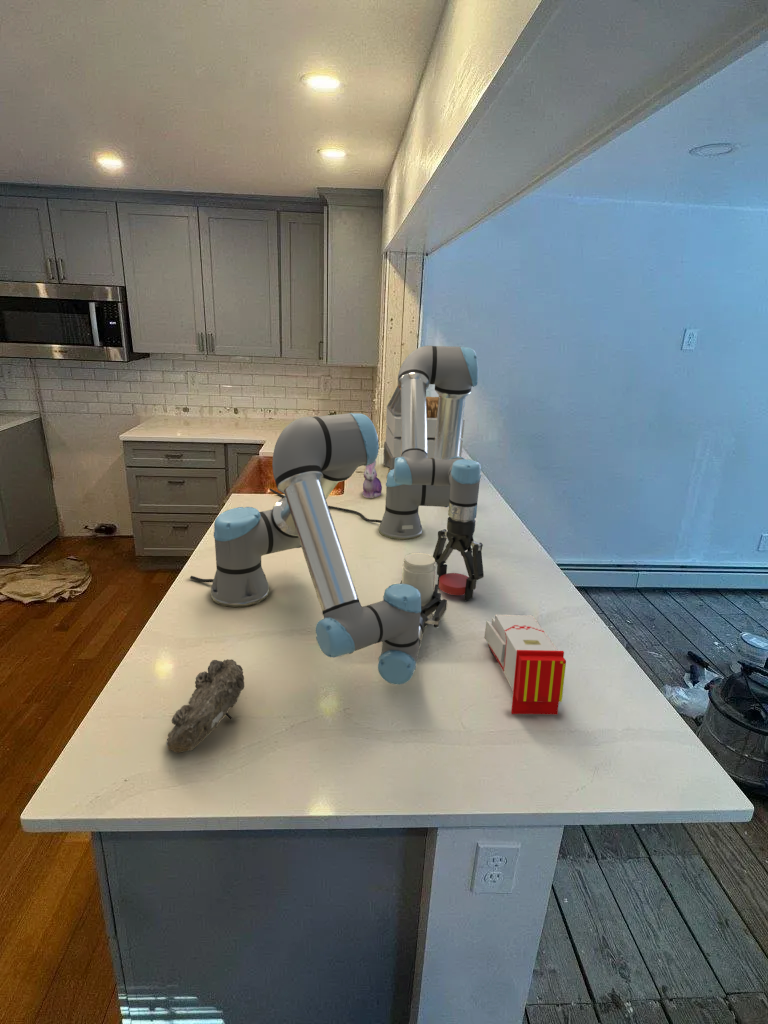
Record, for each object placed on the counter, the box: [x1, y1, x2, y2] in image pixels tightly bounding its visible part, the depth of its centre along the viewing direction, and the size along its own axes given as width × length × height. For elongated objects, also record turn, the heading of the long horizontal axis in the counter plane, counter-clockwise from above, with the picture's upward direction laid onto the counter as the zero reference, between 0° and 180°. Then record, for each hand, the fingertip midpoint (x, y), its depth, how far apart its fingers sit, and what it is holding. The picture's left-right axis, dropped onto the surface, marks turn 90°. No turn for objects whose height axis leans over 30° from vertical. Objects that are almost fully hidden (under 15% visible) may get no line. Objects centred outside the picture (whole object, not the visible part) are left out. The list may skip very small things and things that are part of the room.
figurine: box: [361, 459, 383, 499], centre depth 237 cm, size 9×10×15 cm
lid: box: [438, 572, 469, 596], centre depth 159 cm, size 9×9×2 cm
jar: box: [400, 552, 436, 618], centre depth 144 cm, size 8×8×17 cm
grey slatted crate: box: [383, 385, 465, 472], centre depth 268 cm, size 34×33×41 cm
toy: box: [484, 614, 567, 716], centre depth 124 cm, size 12×13×30 cm
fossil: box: [166, 658, 245, 754], centre depth 106 cm, size 22×10×15 cm
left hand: (419, 586), depth 149 cm, fingers closed on jar, 8 cm apart
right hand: (454, 592), depth 160 cm, fingers closed on lid, 9 cm apart
